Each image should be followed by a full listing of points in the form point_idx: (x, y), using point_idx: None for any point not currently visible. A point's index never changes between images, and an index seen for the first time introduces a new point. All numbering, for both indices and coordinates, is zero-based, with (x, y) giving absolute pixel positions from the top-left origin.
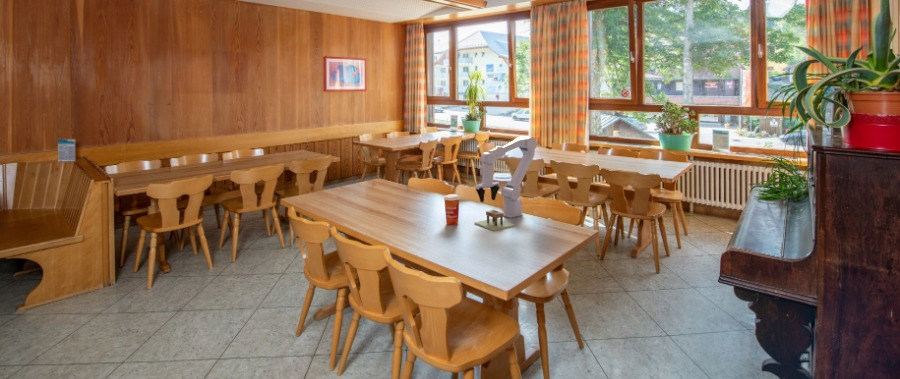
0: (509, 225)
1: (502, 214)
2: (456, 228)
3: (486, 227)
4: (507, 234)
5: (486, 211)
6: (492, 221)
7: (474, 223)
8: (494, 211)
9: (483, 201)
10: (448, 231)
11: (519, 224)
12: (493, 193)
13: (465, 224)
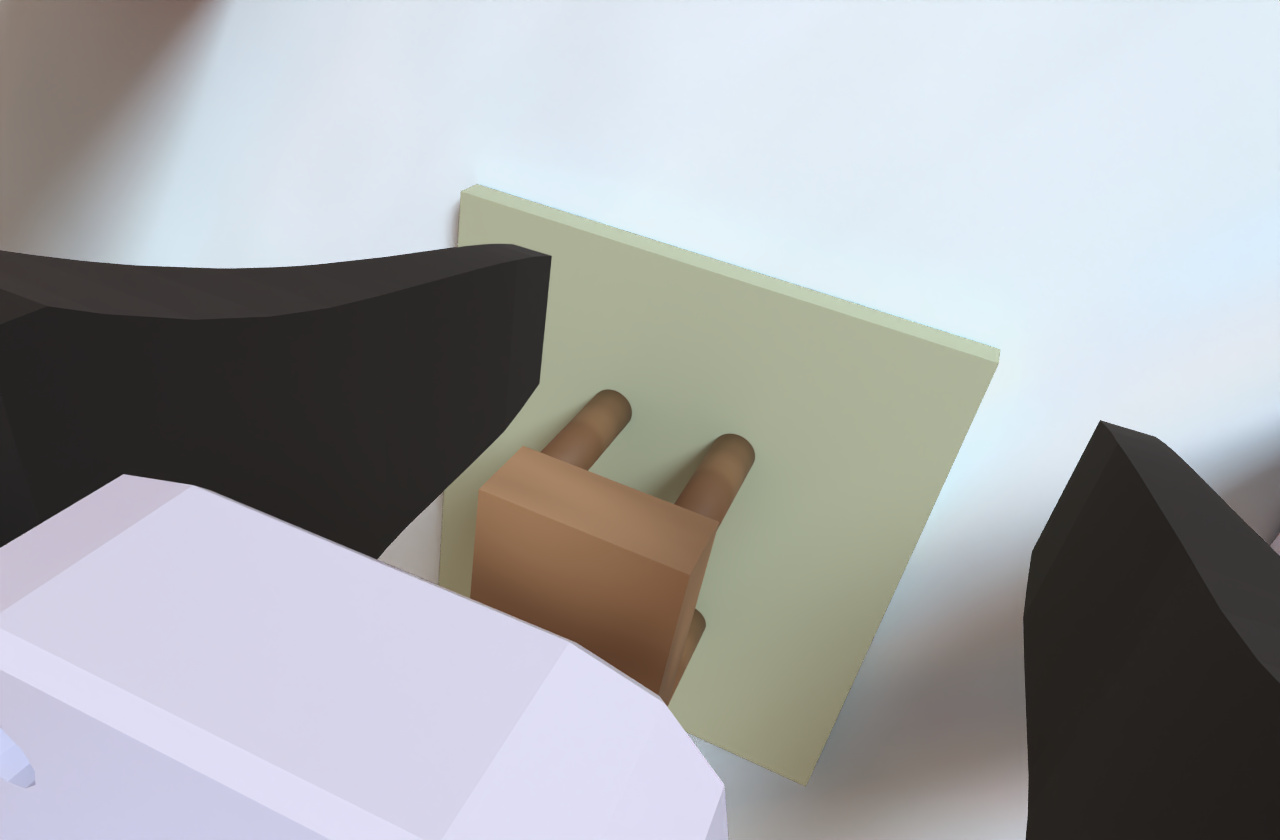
0: (715, 727)
1: None
2: (144, 104)
3: (448, 489)
4: None
5: (481, 501)
6: (717, 438)
7: (471, 187)
8: (594, 638)
9: (513, 398)
10: (14, 113)
11: (931, 792)
12: (1089, 729)
13: (349, 62)
